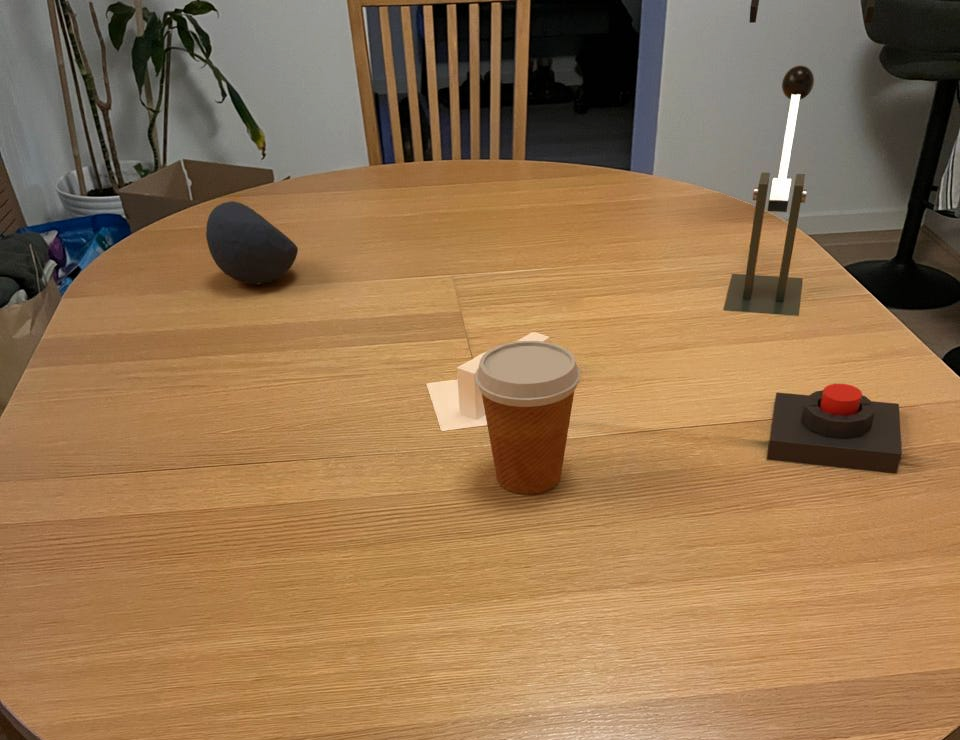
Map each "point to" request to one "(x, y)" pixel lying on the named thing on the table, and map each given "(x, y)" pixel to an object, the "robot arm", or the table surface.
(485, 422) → the napkin holder
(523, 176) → the table surface
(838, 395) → the button
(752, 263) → the bracket
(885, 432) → the button box
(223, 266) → the decorative stone
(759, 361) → the table surface
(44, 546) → the table surface
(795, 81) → the lever
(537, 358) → the disposable coffee cup
